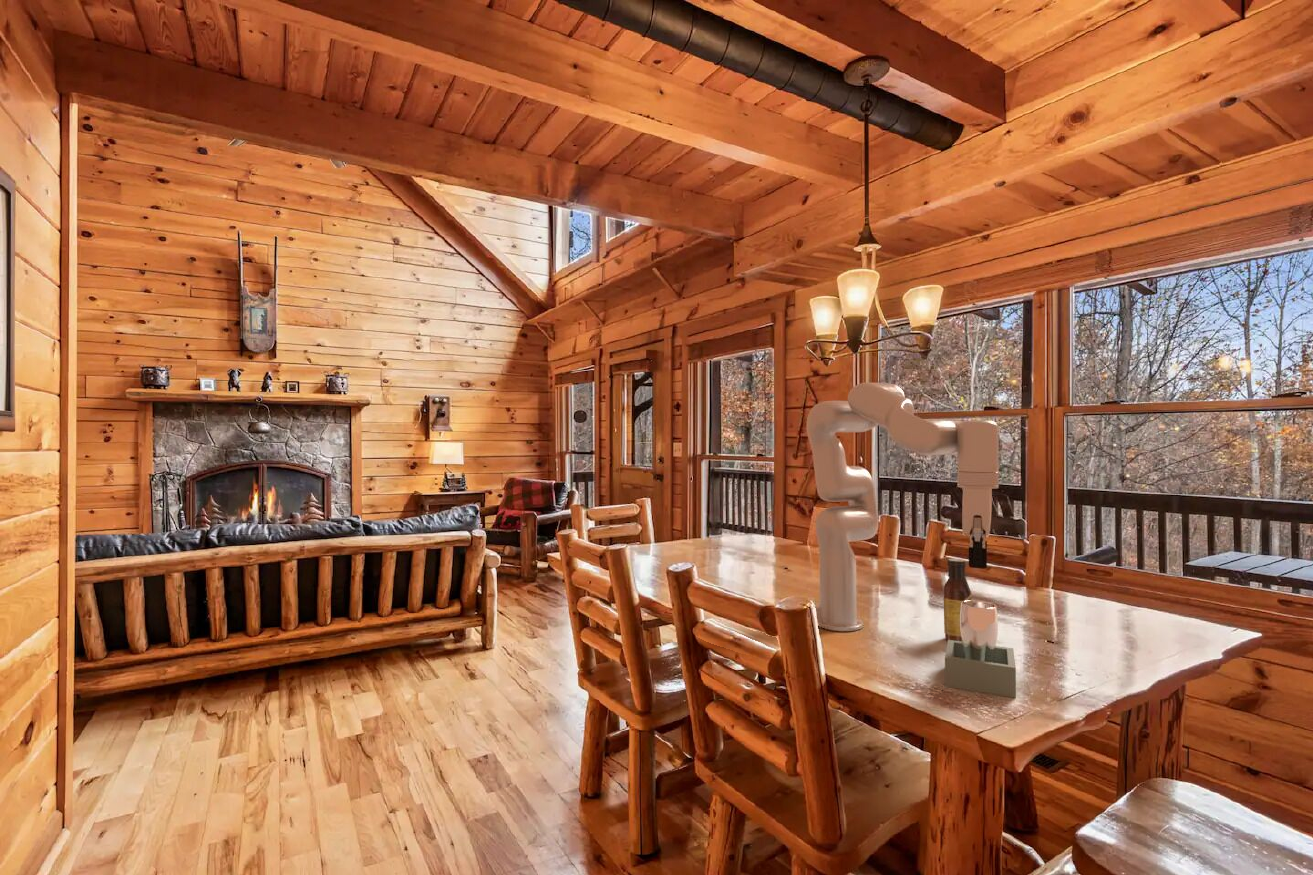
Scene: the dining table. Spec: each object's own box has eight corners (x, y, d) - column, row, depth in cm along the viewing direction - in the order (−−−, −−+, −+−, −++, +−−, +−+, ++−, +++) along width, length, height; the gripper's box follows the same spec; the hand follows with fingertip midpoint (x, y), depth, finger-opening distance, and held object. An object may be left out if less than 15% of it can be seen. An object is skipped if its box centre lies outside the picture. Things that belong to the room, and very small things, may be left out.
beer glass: (953, 670, 132) (953, 599, 132) (985, 669, 132) (984, 599, 132) (972, 683, 125) (971, 609, 125) (1005, 682, 125) (1005, 608, 125)
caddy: (945, 686, 126) (944, 657, 126) (948, 666, 137) (948, 639, 137) (1015, 697, 120) (1015, 667, 120) (1013, 675, 131) (1013, 648, 131)
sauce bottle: (975, 645, 150) (975, 563, 150) (947, 644, 151) (947, 562, 151) (967, 637, 156) (967, 557, 156) (941, 635, 158) (940, 557, 158)
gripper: (959, 477, 138) (959, 554, 138) (955, 482, 123) (956, 569, 123) (997, 478, 134) (998, 557, 134) (999, 484, 119) (999, 573, 119)
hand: (978, 563), depth 129 cm, fingers open, 9 cm apart
